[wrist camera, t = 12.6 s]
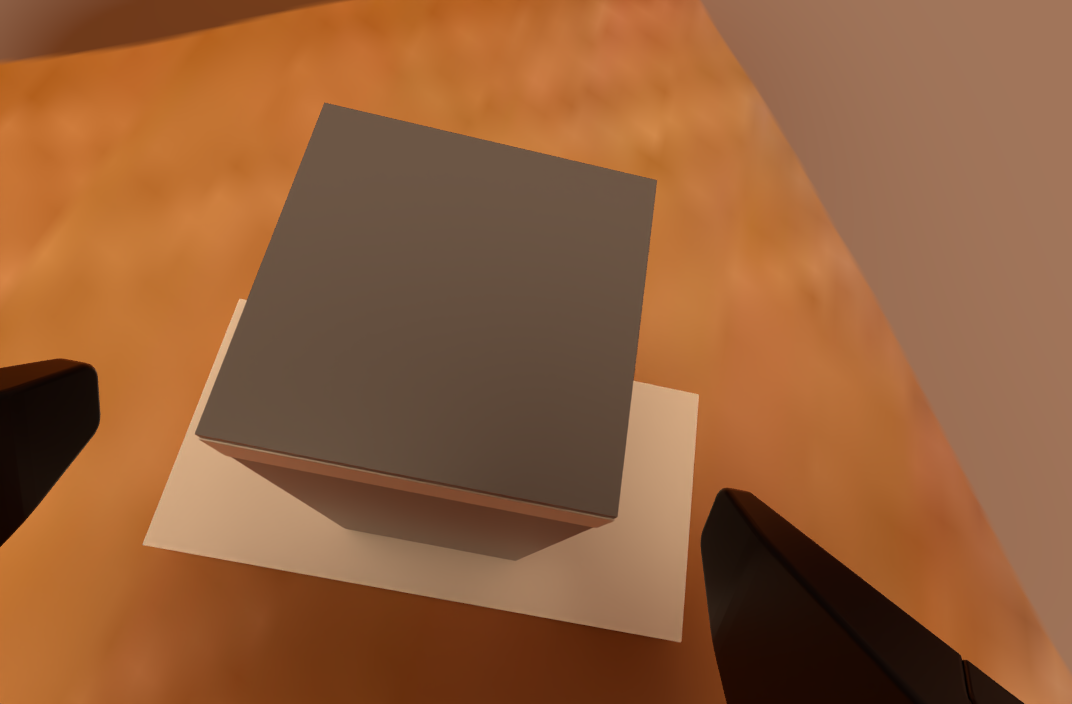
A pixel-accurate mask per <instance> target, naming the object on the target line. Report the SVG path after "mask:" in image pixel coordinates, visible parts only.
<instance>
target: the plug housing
mask: <svg viewBox="0 0 1072 704" xmlns="http://www.w3.org/2000/svg"><path fill="white" fill-rule="evenodd" d="M656 184H657V180H654V179H650V178H645V177H641V176H637V175H633V174H628V173H624V172H620V171H615V170H611V169H607V168H603V167H598V166H594V165H590V164H585V163H581V162H577V161H572V160H568V159H564V158H560V157H555V156H551V155H547V154H542V153H538V152H534V151H530V150H525V149H521V148H517V147H512V146H508V145H504V144H500V143H495V142H491V141H487V140H482V139H478V138H474V137H470V136H465V135H461V134H457V133H452V132H448V131H444V130H440V129H435V128H431V127H427V126H422V125H418V124H414V123H410V122H405V121H401V120H397V119H392V118H388V117H384V116H380V115H375V114H371V113H367V112H362V111H358V110H354V109H350V108H345V107H341V106H337V105H332V104H328V103H324V105H323V108H322V110H321V113H320V115H319V118H318V120H317V123H316V126H315V128H314V131H313V133H312V136H311V138H310V141H309V143H308V146H307V149H306V151H305V154H304V156H303V159H302V161H301V164H300V166H299V169H298V171H297V174H296V177H295V179H294V182H293V184H292V187H291V189H290V192H289V194H288V197H287V200H286V202H285V205H284V207H283V210H282V212H281V215H280V217H279V220H278V222H277V225H276V228H275V230H274V233H273V235H272V238H271V240H270V243H269V245H268V248H267V250H266V253H265V256H264V258H263V261H262V263H261V266H260V268H259V271H258V273H257V276H256V279H255V281H254V284H253V286H252V289H251V291H250V294H249V296H248V299H247V301H246V304H245V307H244V309H243V312H242V314H241V317H240V319H239V322H238V324H237V327H236V330H235V332H234V335H233V337H232V340H231V342H230V345H229V347H228V350H227V352H226V355H225V358H224V360H223V363H222V365H221V368H220V370H219V373H218V375H217V378H216V381H215V383H214V386H213V388H212V391H211V393H210V396H209V398H208V401H207V403H206V406H205V409H204V411H203V414H202V416H201V419H200V421H199V424H198V426H197V429H196V432H195V435H197V436H198V437H199V440H200V441H202V442H204V443H205V444H207V445H208V446H210V447H212V448H213V449H215V450H217V451H218V452H220V453H221V454H223V455H225V456H228V457H232V458H233V459H235V460H236V461H238V462H240V463H241V464H243V465H244V466H246V467H248V468H249V469H251V470H252V471H254V472H256V473H257V474H259V475H260V476H262V477H263V478H265V479H267V480H268V481H270V482H271V483H273V484H275V485H276V486H278V487H279V488H281V489H283V490H284V491H286V492H287V493H289V494H291V495H292V496H294V497H295V498H297V499H299V500H300V501H302V502H303V503H305V504H306V505H308V506H310V507H311V508H313V509H314V510H316V511H318V512H319V513H321V514H322V515H324V516H326V517H327V518H329V519H330V520H332V521H334V522H335V523H337V524H338V525H340V526H341V527H343V528H345V529H349V530H355V531H360V532H365V533H371V534H376V535H381V536H386V537H392V538H397V539H402V540H408V541H413V542H418V543H423V544H429V545H434V546H439V547H444V548H450V549H455V550H460V551H466V552H471V553H476V554H481V555H487V556H492V557H497V558H503V559H508V560H513V561H516V560H519V559H521V558H523V557H526V556H528V555H530V554H533V553H535V552H537V551H540V550H542V549H544V548H547V547H549V546H551V545H554V544H556V543H558V542H561V541H563V540H565V539H568V538H570V537H572V536H575V535H577V534H579V533H582V532H584V531H586V530H589V529H591V528H599V527H601V526H603V525H606V524H608V523H611V522H613V521H615V518H617V517H618V509H619V500H620V492H621V483H622V475H623V466H624V458H625V449H626V440H627V432H628V423H629V415H630V406H631V398H632V389H633V381H634V372H635V364H636V355H637V347H638V338H639V330H640V321H641V312H642V304H643V295H644V287H645V278H646V270H647V261H648V253H649V244H650V236H651V227H652V219H653V210H654V202H655V193H656Z"/></svg>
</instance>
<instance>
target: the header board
mask: <svg viewBox="0 0 1072 704" xmlns="http://www.w3.org/2000/svg"><path fill="white" fill-rule="evenodd" d="M246 301H247V300H244V299H239V301H238V304H237V306H236V309H235V311H234V314H233V316H232V319H231V321H230V324H229V326H228V329H227V332H226V334H225V337H224V339H223V342H222V344H221V347H220V349H219V352H218V354H217V357H216V359H215V362H214V365H213V367H212V370H211V372H210V375H209V377H208V380H207V382H206V385H205V387H204V390H203V392H202V395H201V397H200V400H199V403H198V405H197V408H196V410H195V413H194V415H193V418H192V420H191V423H190V425H189V428H188V430H187V433H186V435H185V438H184V441H183V443H182V446H181V448H180V451H179V453H178V456H177V458H176V461H175V463H174V466H173V468H172V471H171V473H170V476H169V479H168V481H167V484H166V486H165V489H164V491H163V494H162V496H161V499H160V501H159V504H158V506H157V509H156V511H155V514H154V517H153V519H152V522H151V524H150V527H149V529H148V532H147V534H146V537H145V539H144V542H143V544H142V545H146V546H151V547H157V548H162V549H168V550H173V551H179V552H184V553H190V554H195V555H201V556H206V557H212V558H217V559H223V560H228V561H234V562H239V563H245V564H251V565H256V566H262V567H267V568H273V569H278V570H284V571H289V572H295V573H300V574H306V575H311V576H317V577H322V578H328V579H333V580H339V581H344V582H350V583H355V584H361V585H367V586H372V587H378V588H383V589H389V590H394V591H400V592H405V593H411V594H416V595H422V596H427V597H433V598H438V599H444V600H449V601H455V602H460V603H466V604H471V605H477V606H483V607H488V608H494V609H499V610H505V611H510V612H516V613H521V614H527V615H532V616H538V617H543V618H549V619H554V620H560V621H565V622H571V623H576V624H582V625H587V626H593V627H599V628H604V629H610V630H615V631H621V632H626V633H632V634H637V635H643V636H648V637H654V638H659V639H665V640H670V641H676V642H681V640H682V626H683V612H684V598H685V584H686V570H687V556H688V542H689V527H690V513H691V499H692V485H693V471H694V457H695V443H696V429H697V414H698V400H699V394H694V393H690V392H685V391H680V390H675V389H670V388H666V387H661V386H656V385H651V384H646V383H642V382H637V381H633V389H632V398H631V406H630V415H629V423H628V432H627V440H626V449H625V458H624V466H623V475H622V483H621V492H620V500H619V509H618V517H617V518H615V521H613V522H611V523H608V524H606V525H603V526H601V527H599V528H591V529H589V530H586V531H584V532H582V533H579V534H577V535H575V536H572V537H570V538H568V539H565V540H563V541H561V542H558V543H556V544H554V545H551V546H549V547H547V548H544V549H542V550H540V551H537V552H535V553H533V554H530V555H528V556H526V557H523V558H521V559H519V560H516V561H513V560H508V559H503V558H497V557H492V556H487V555H481V554H476V553H471V552H466V551H460V550H455V549H450V548H444V547H439V546H434V545H429V544H423V543H418V542H413V541H408V540H402V539H397V538H392V537H386V536H381V535H376V534H371V533H365V532H360V531H355V530H349V529H345V528H343V527H341V526H340V525H338V524H337V523H335V522H334V521H332V520H330V519H329V518H327V517H326V516H324V515H322V514H321V513H319V512H318V511H316V510H314V509H313V508H311V507H310V506H308V505H306V504H305V503H303V502H302V501H300V500H299V499H297V498H295V497H294V496H292V495H291V494H289V493H287V492H286V491H284V490H283V489H281V488H279V487H278V486H276V485H275V484H273V483H271V482H270V481H268V480H267V479H265V478H263V477H262V476H260V475H259V474H257V473H256V472H254V471H252V470H251V469H249V468H248V467H246V466H244V465H243V464H241V463H240V462H238V461H236V460H235V459H233V458H232V457H228V456H225V455H223V454H221V453H220V452H218V451H217V450H215V449H213V448H212V447H210V446H208V445H207V444H205V443H204V442H202V441H200V440H199V437H198V436H197V435H195V432H196V429H197V426H198V424H199V421H200V419H201V416H202V414H203V411H204V409H205V406H206V403H207V401H208V398H209V396H210V393H211V391H212V388H213V386H214V383H215V381H216V378H217V375H218V373H219V370H220V368H221V365H222V363H223V360H224V358H225V355H226V352H227V350H228V347H229V345H230V342H231V340H232V337H233V335H234V332H235V330H236V327H237V324H238V322H239V319H240V317H241V314H242V312H243V309H244V307H245V304H246Z"/></svg>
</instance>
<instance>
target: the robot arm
mask: <svg viewBox="0 0 1072 704" xmlns="http://www.w3.org/2000/svg"><path fill="white" fill-rule="evenodd" d="M99 422H100V402H99V388H98V376H97V372H96V370H95V368H94V367H93V366H92V365H90V364H87V363H83V362H78V361H73V360H68V359H52V360H46V361H40V362H34V363H28V364H22V365H16V366H10V367H4V368H0V547H1V546H2V545H3V544H4V543H5V542H6V541H7V540H8V539H9V538H10V537H11V535H12V534H13V533H14V532H15V531H16V530H17V529H18V528H19V527H20V526H21V525H22V524H23V522H24V521H25V520H26V519H27V518H28V517H29V515H30V514H31V513H32V512H33V511H34V510H35V508H36V507H37V506H38V505H39V504H40V502H41V501H42V500H43V498H44V497H45V496H46V495H47V493H48V492H49V491H50V490H51V488H52V487H53V486H54V485H55V483H56V482H57V481H58V480H59V478H60V477H61V476H62V475H63V473H64V472H65V471H66V470H67V468H68V467H69V466H70V464H71V463H72V462H73V461H74V459H75V458H76V457H77V456H78V454H79V453H80V452H81V451H82V449H83V448H84V447H85V446H86V444H87V443H88V442H89V441H90V439H91V438H92V437H93V435H94V434H95V432H96V430H97V428H98V426H99ZM701 554H702V562H703V571H704V579H705V587H706V596H707V604H708V612H709V620H710V628H711V635H712V641H713V646H714V651H715V656H716V660H717V664H718V669H719V673H720V677H721V681H722V686H723V690H724V694H725V698H726V703H727V704H1024V703H1023V702H1022V701H1020V700H1019V699H1018V698H1016V697H1015V696H1014V695H1012V694H1011V693H1010V692H1008V691H1007V690H1006V689H1004V688H1003V687H1002V686H1000V685H999V684H998V683H996V682H995V681H994V680H992V679H991V678H990V677H989V676H987V675H986V674H985V673H983V672H982V671H981V670H980V669H978V668H977V667H976V666H974V665H973V664H972V663H971V662H969V661H968V660H962V658H961V655H960V654H959V653H957V652H956V651H955V650H954V649H952V648H951V647H950V646H948V645H947V644H946V643H944V642H943V641H942V640H941V639H939V638H938V637H937V636H935V635H934V634H933V633H931V632H930V631H929V630H928V629H926V628H925V627H924V626H922V625H921V624H920V623H919V622H917V621H916V620H915V619H913V618H912V617H911V616H910V615H908V614H907V613H906V612H904V611H903V610H902V609H900V608H899V607H898V606H897V605H895V604H894V603H893V602H891V601H890V600H889V599H888V598H886V597H885V596H884V595H882V594H881V593H880V592H878V591H877V590H876V589H875V588H873V587H872V586H871V585H869V584H868V583H867V582H866V581H864V580H863V579H862V578H860V577H859V576H858V575H857V574H855V573H854V572H853V571H851V570H850V569H849V568H847V567H846V566H845V565H844V564H842V563H841V562H840V561H838V560H837V559H836V558H835V557H833V556H832V555H831V554H829V553H828V552H827V551H825V550H824V549H823V548H822V547H820V546H819V545H818V544H816V543H815V542H814V541H813V540H811V539H810V538H809V537H807V536H806V535H805V534H804V533H802V532H801V531H800V530H798V529H797V528H796V527H794V526H793V525H792V524H791V523H789V522H788V521H787V520H785V519H784V518H783V517H782V516H780V515H779V514H778V513H776V512H775V511H774V510H772V509H771V508H770V507H769V506H767V505H766V504H765V503H763V502H762V501H761V500H760V499H758V498H757V497H756V496H754V495H753V494H752V493H750V492H747V491H742V490H737V489H732V488H723V489H721V490H720V491H719V493H718V494H717V496H716V498H715V501H714V503H713V506H712V508H711V511H710V513H709V516H708V518H707V521H706V523H705V526H704V528H703V531H702V535H701Z"/></svg>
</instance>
